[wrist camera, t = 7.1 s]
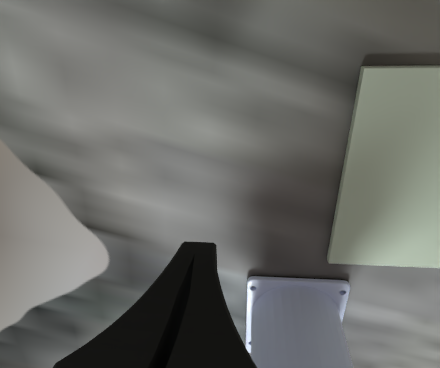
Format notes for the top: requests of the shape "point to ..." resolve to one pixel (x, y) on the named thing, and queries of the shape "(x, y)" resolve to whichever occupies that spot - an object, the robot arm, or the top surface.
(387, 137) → the base board
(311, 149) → the top surface
